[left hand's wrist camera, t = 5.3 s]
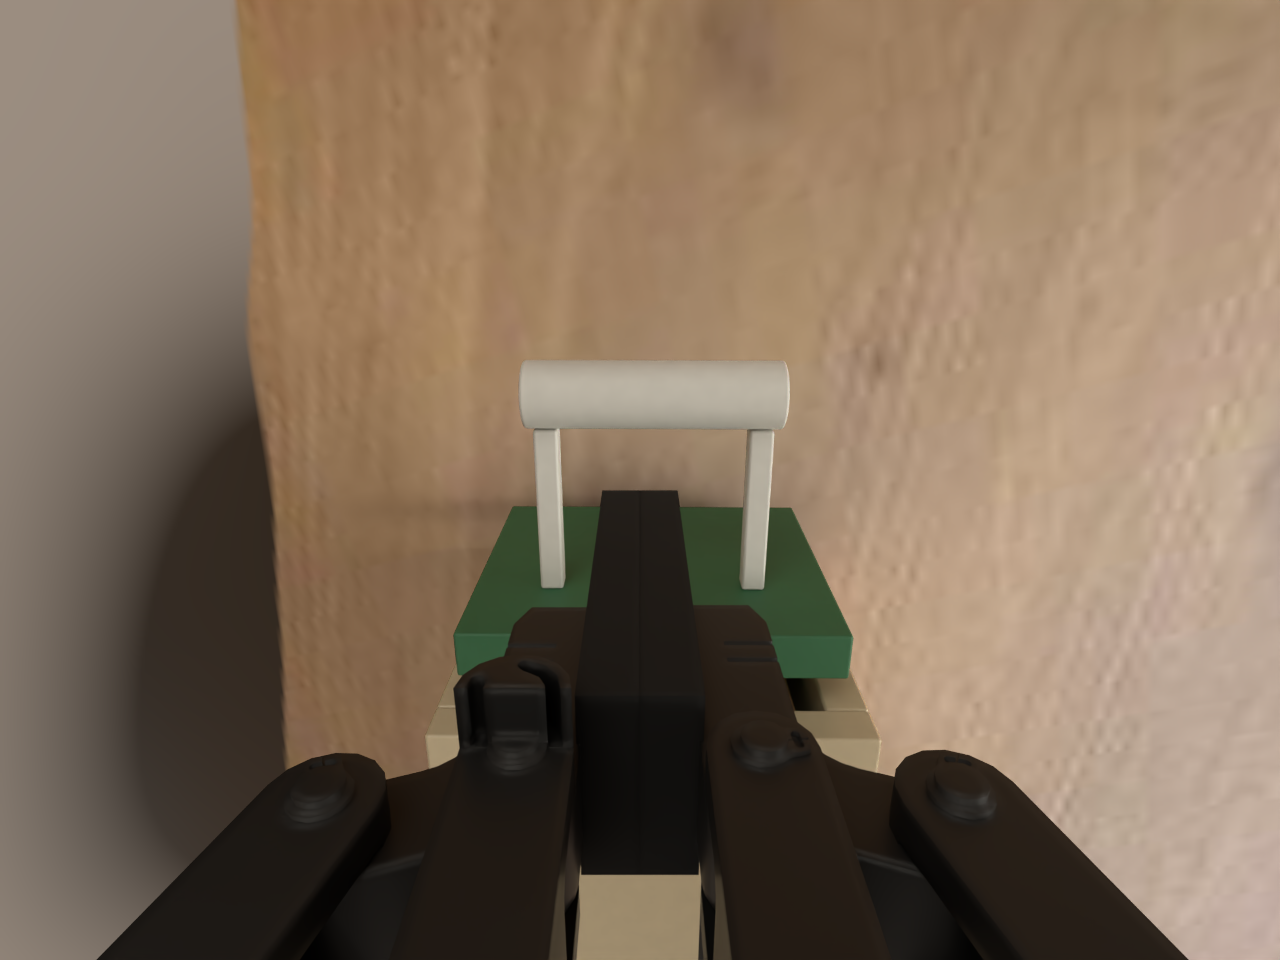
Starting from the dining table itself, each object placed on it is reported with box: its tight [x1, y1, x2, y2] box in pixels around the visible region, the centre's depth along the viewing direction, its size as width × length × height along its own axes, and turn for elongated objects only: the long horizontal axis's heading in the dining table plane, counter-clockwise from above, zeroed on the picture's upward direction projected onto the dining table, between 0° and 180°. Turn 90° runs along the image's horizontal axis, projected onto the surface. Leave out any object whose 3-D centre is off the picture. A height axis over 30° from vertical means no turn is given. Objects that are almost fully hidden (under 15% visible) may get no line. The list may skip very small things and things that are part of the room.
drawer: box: [453, 360, 853, 711], centre depth 23 cm, size 24×10×8 cm, turn 0°
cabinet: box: [425, 665, 881, 960], centre depth 25 cm, size 19×11×10 cm, turn 0°
